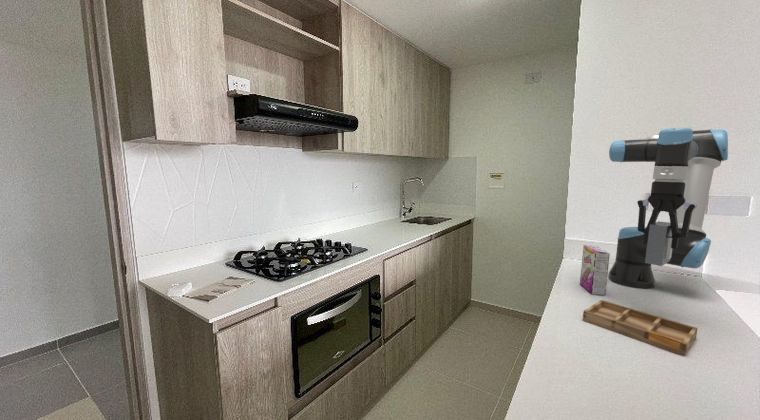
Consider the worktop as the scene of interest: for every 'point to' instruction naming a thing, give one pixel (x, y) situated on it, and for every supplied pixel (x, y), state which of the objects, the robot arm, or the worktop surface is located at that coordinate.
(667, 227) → the panel
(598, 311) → the bay rack
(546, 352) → the worktop surface
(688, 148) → the robot arm
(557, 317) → the worktop surface
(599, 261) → the candy bar box
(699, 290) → the worktop surface
